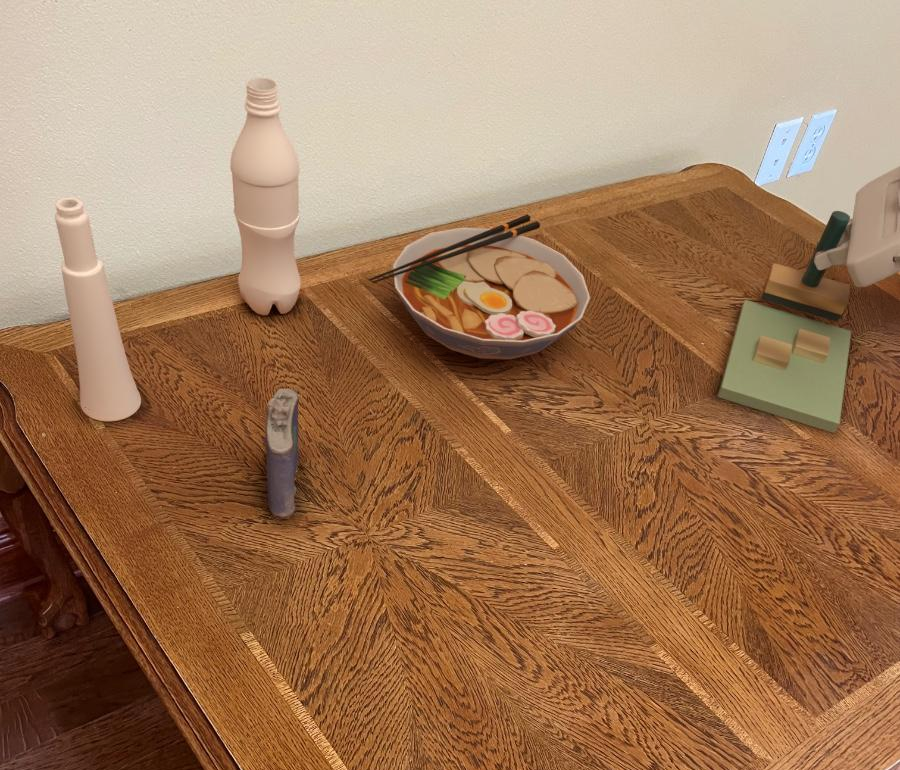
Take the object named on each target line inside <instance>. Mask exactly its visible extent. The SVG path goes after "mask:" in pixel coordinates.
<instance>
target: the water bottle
mask: <svg viewBox="0 0 900 770" xmlns="http://www.w3.org/2000/svg"><path fill="white" fill-rule="evenodd" d="M245 88H246V94H247V95H246V98H245V103H244V109H245V111H246V119H245V123H244V125H243V127H242V129H241V131H240V132H239V135H238V137H237V139H236V141H235V144H234V146H233V149H232V151H231V156H230V165H229V166H230V172H231V178H232V193H233V194H232V195H233V214H234V216H235V219H236V223H237V227H238V230H239V237H240V242H241V266H240V271H239V274H238V277H237V283H238V290H239V292H240V296H241V297H242V299H243V301H244V302H245V303H246V304H247V305H248V306H249V307H250V309H251V310H252V311H254V312H255V313H256V314H258V315H261V316H268V315H269V314H270V312H271V309H272V307H273V305H274V306H275V307H276V309H277V311H278V312H279V313H280V315H284V314H288V313H289V312H290V311H292V309H293V308H294V306H295V305H296V303H297V300H298V297H299V294H300V290H301V284H302V281H301V280H302V279H301V275H300V272H299V268H298V265H297V260H296V255H295V254H296V253H295V252H296V251H295V235H296V234H295V233H296V229H297V226H298V224H299V222H300V217H301V213H300V207H299V206H300V204H299V199H300V198H299V175H300V164H299V159H298V155H297V152H296V151H295V148H294V146H293V144H292V142H291V140H290V138H289V137H288V135H287V133H286V131H285V129H284V127H283V125H282V122H281V119H280V112H281V104H280V100H279V98H278V97H279V95H278V93H279V92H278V83H277V82H276V81H275V80H274V79H271V78H268V77H264V76H263V77H262V76H261V77H260V76H256V77H252V78H249V79H248V80H247V81H246V87H245Z"/></svg>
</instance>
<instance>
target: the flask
mask: <svg viewBox="0 0 900 770" xmlns="http://www.w3.org/2000/svg"><path fill="white" fill-rule="evenodd" d="M299 397H300V396H299V394H298V392H296V391H295V390H294V389H292V388H290V387H289V388H288V387H287V388H286V387H284V388H279V389H277V390H276V391H275V392H274V394H273V396H272V398H271V399H269V401H268V402H267V406H268V408H267V411H266V417H265V426H264V427H265V428H264V433H265V451H266V478H267V481H266V483H267V484H266V486H267V503H268V508H269V512H270V515H271V516H272V517H273V518H274V519H276V520H290V519H291V517H293V516H294V513H295V509H296V504H295V503H296V502H295V497H296V493H297V487H296V485H295V481H297V478H296V474H297V472H298V467H299V399H300V398H299Z"/></svg>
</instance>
